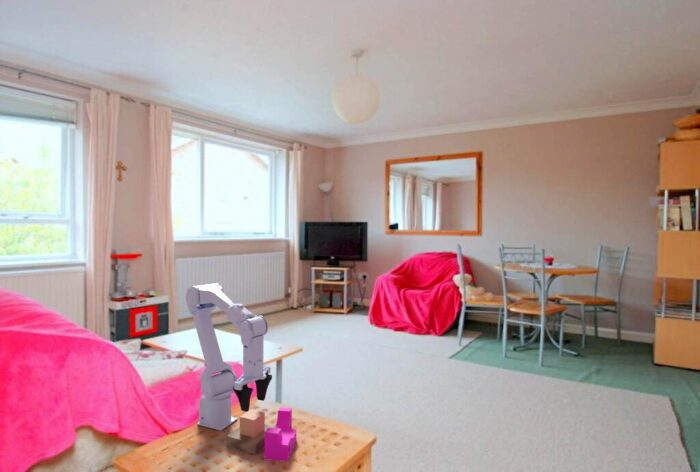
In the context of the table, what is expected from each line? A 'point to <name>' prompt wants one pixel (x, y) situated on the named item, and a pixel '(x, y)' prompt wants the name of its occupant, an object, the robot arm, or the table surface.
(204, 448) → the table surface
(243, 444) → the taupe block
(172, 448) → the table surface
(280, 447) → the toy block
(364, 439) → the table surface
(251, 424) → the terracotta cube
